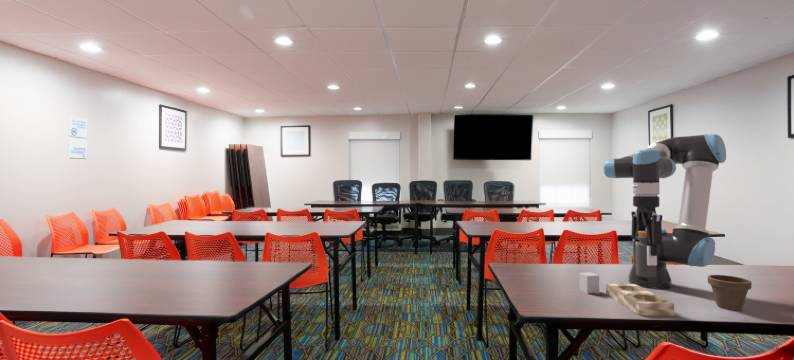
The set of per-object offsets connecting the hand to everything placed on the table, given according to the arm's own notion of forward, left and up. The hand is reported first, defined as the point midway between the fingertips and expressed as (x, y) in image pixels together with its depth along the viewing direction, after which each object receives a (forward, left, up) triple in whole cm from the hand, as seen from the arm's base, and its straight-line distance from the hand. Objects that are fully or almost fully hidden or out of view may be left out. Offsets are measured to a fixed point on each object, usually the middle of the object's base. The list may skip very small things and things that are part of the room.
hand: (646, 262), depth 127 cm
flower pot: (-30, -4, -16) cm, 34 cm away
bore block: (0, -6, -16) cm, 17 cm away
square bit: (+10, -20, -16) cm, 27 cm away
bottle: (0, 0, -5) cm, 5 cm away
